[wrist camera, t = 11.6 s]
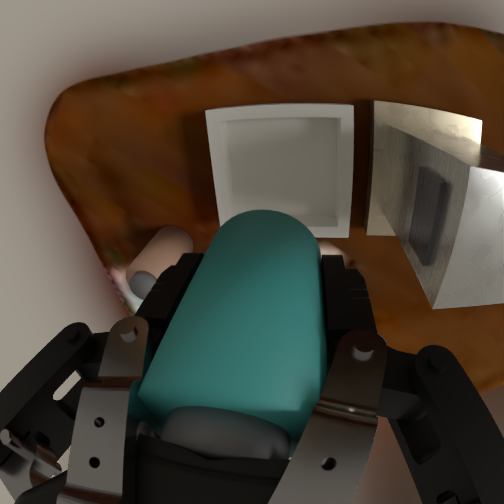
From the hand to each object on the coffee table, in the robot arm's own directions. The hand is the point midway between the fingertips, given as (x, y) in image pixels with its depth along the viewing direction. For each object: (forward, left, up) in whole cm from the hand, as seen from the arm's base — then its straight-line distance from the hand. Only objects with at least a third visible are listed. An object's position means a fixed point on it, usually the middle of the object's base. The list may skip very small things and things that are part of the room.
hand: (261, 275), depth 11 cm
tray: (0, 0, -16) cm, 16 cm away
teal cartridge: (0, 0, -1) cm, 1 cm away
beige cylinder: (-8, +12, -16) cm, 21 cm away
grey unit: (0, -13, -16) cm, 21 cm away
